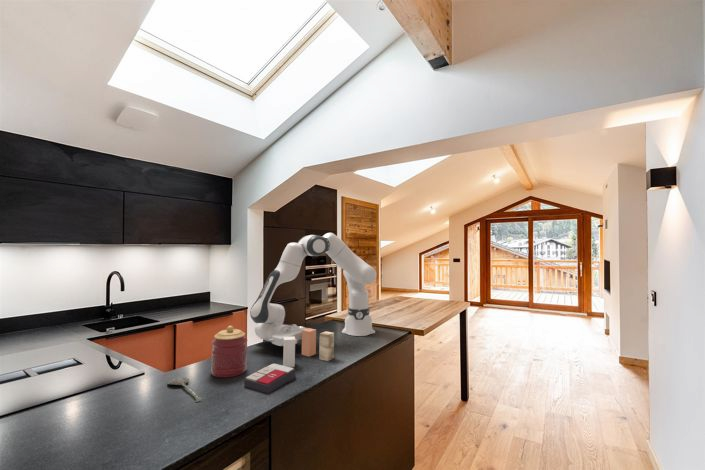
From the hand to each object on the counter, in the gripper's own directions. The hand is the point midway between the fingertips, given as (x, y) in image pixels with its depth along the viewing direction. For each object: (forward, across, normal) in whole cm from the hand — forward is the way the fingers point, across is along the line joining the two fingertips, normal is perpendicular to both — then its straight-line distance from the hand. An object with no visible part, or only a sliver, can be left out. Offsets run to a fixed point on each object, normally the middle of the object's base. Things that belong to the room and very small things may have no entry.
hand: (304, 338), depth 151 cm
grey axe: (-8, -52, +7) cm, 53 cm away
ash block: (+13, 0, +6) cm, 14 cm away
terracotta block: (+3, 0, +6) cm, 7 cm away
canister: (-9, -33, +6) cm, 35 cm away
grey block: (+5, -15, +6) cm, 17 cm away
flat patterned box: (+11, -31, +7) cm, 34 cm away
